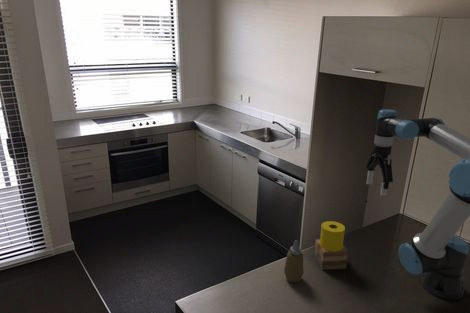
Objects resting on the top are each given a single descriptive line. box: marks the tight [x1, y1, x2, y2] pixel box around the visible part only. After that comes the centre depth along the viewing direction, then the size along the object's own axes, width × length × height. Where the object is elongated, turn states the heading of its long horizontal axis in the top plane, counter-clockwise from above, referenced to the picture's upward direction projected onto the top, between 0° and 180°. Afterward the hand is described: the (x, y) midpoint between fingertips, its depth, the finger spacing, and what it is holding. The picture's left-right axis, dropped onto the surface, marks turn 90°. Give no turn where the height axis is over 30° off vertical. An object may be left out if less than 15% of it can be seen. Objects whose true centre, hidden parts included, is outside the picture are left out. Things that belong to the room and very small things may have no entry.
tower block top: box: [314, 238, 349, 261], centre depth 162 cm, size 11×11×4 cm
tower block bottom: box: [313, 248, 348, 271], centre depth 164 cm, size 11×11×4 cm
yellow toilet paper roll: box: [319, 220, 346, 251], centre depth 160 cm, size 10×10×9 cm
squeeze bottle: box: [283, 240, 304, 284], centre depth 149 cm, size 8×8×18 cm
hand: (376, 189), depth 165 cm, fingers open, 13 cm apart
